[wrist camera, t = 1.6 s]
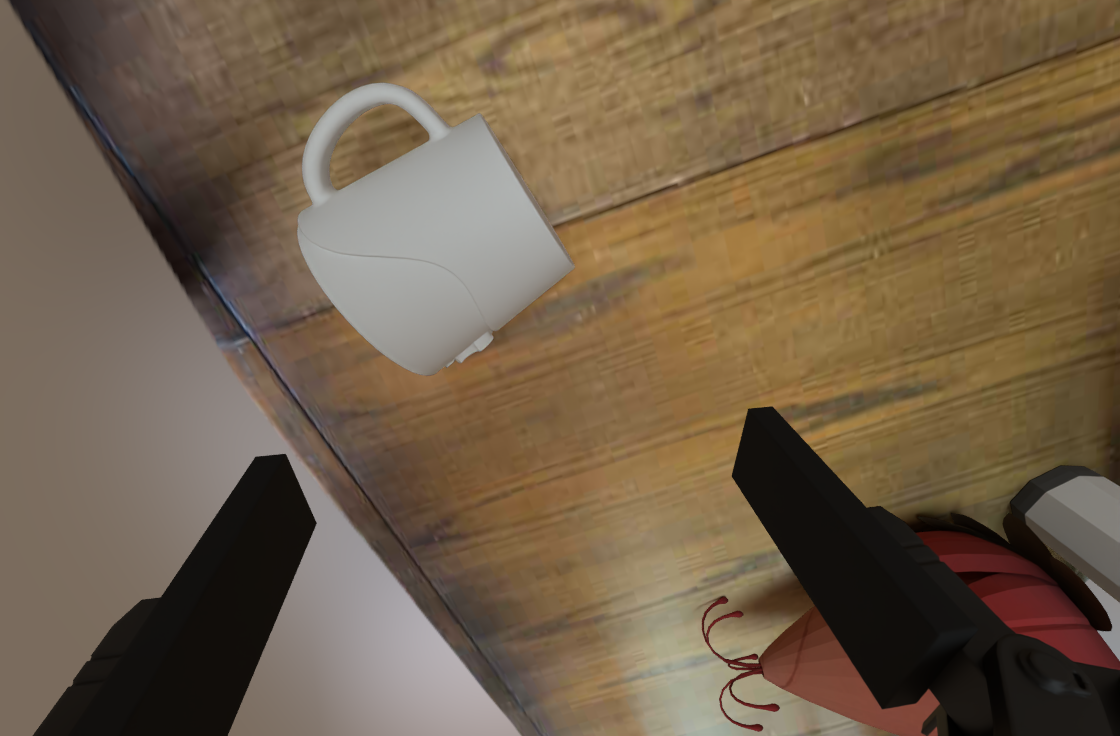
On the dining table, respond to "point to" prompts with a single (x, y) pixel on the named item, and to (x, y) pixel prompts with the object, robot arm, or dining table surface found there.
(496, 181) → the mug
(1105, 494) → the wine bottle
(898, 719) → the decorative flower
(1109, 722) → the robot arm
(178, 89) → the dining table surface
